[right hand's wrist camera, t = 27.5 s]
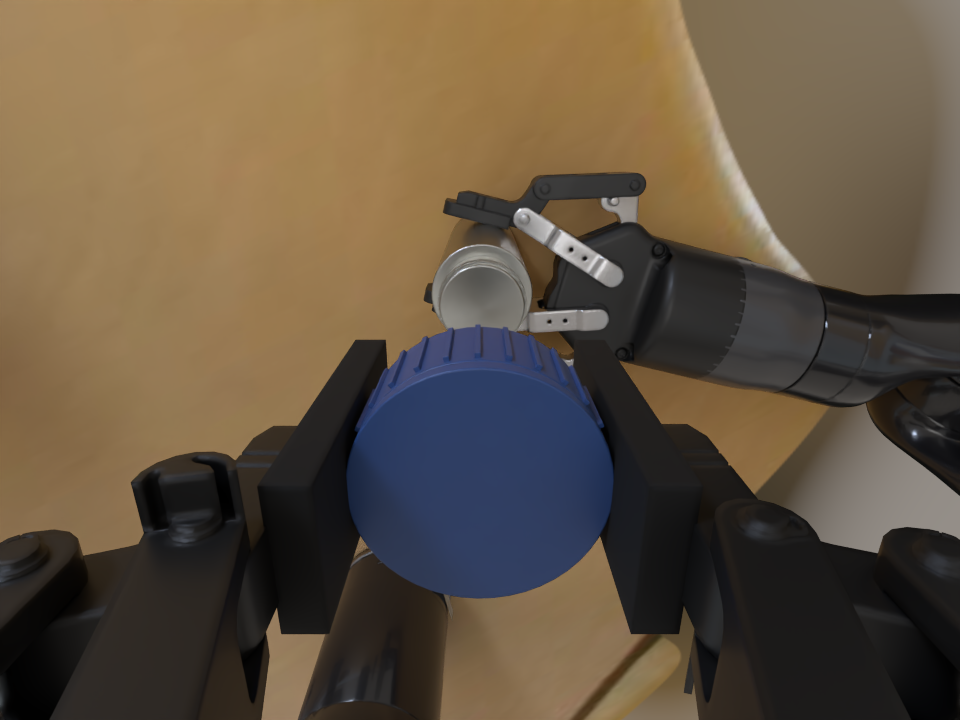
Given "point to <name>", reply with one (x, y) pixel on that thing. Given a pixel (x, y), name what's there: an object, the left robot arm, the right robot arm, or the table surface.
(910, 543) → the right robot arm
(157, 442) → the table surface
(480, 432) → the lid
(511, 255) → the bottle
